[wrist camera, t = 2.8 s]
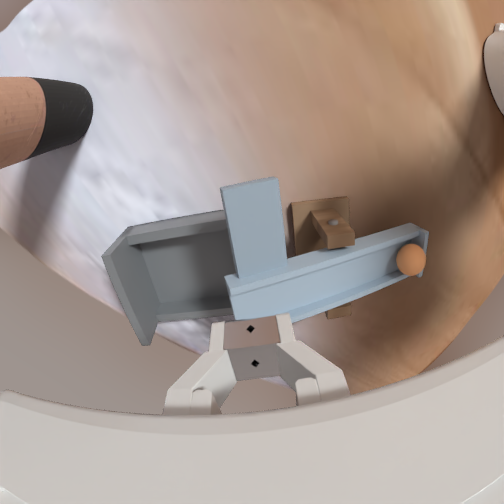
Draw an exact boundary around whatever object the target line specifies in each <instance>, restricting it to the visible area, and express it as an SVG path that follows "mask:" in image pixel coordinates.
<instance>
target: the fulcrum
mask: <svg viewBox="0 0 504 504" xmlns="http://www.w3.org/2000/svg"><path fill="white" fill-rule="evenodd" d="M291 208H292V218H293V229H294V240H295V252H296V256H299V255H302V254H306V253H309V252H313V251H316V250H320V249H323V248H327V249H333V248H340V247H347V246H353V245H355V232H354V230H353V229H352V228H351V227H350V215H349V198H348V197H347V196H346V197H336V198H327V199H319V200H310V201H302V202H294V203H291ZM351 309H352V305H351V303H350V302H348V303H345V304H343V305H340V306H338V307H335V308H332V309H330V310H327V311H325V313H326V316H327V319H333V318H338V317H343V316H349V315H351Z"/></svg>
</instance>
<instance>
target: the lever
mask: <svg viewBox="0 0 504 504" xmlns="http://www.w3.org/2000/svg"><path fill="white" fill-rule="evenodd" d="M220 191H221V197H222V202H223V207H224V213H225V218H226V223H227V228H228V233H229V239H230V244H231V249H232V254H233V259H234V264H235V269H236V273H234V274H231V275H227V276H224V277H225V282H226V286H227V290H228V294H229V299H230V303H231V307H232V311H233V315H234V320H241V319H251V318H258V317H265V316H271V315H276V314H282V313H287V312H288V313H289V314H290V318H291V322H292V323H294V322H296V321H299V320H302V319H305V318H308V317H311V316H313V315H316V314H319V313H322V312H324V311H327V310H330V309H332V308H335V307H338V306H340V305H343V304H345V303H348V302H350V301H353V300H355V299H358V298H360V297H363V296H365V295H368V294H370V293H373V292H375V291H377V290H380V289H382V288H384V287H387V286H389V285H391V284H394V283H396V282H398V281H400V280H403V279H405V278H407V277H409V276H408V275H405V274H403V273H402V272H401V271H400V270H399V268H398V266H397V262H396V257H397V253H398V251H399V250H400V249H401V247H403V246H404V245H406V244H416V245H418V246H420V247H421V248H422V249H423V251H424V253H425V256H426V251H427V244H428V236H429V231H427V230H425V229H423V228H421V227H419V226H417V225H415V224H413V223H407V224H404V225H401V226H397V227H394V228H391V229H388V230H384V231H381V232H378V233H374V234H371V235H368V236H364V237H361V238H357V239H355V245H353V246H347V247H340V248H333V249H327V248H323V249H320V250H316V251H313V252H309V253H306V254H302V255H299V256H295V257H292V258H288V259H287V254H286V244H285V235H284V225H283V216H282V207H281V199H280V190H279V182H278V178H275V177H268V178H263V179H258V180H253V181H248V182H243V183H238V184H234V185H229V186H225V187H220ZM423 269H424V268H423ZM422 275H423V270H422V271H421V272H420V273H419V274H417V275H416V276H417V277H421V276H422Z"/></svg>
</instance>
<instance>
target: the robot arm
mask: <svg viewBox="0 0 504 504" xmlns="http://www.w3.org/2000/svg"><path fill="white" fill-rule="evenodd" d="M484 62H485V69H486V74H487V78H488V82H489V85H490V88H491V91H492V94H493V96H494V99H495V101H496V103H497V105H498V107H499V109H500V111H501V112H502V114H503V115H504V24H503V23H497V24H496V26H495V31H494V33H493V34H491V35H490V36H489V37H488V38H487V40H486V43H485V48H484ZM275 376H280V377H281V378H282V379H283V380H284V381H285V382H286V383H287V384H288V385H289V386H290V387H291V388H292V389H293V390H294V391H295V392H296V405H297V406H295V407H288V408H281V409H274V410H266V411H257V412H247V413H234V414H222V413H221V411H220V407H221V406H222V404H223V403H224V401H225V400H226V398H227V397H228V395H229V393H230V392H231V391H232V389H233V387H234V386H235V384H236V382H237V381H241V380H249V379H256V378H266V377H275ZM0 504H504V336H502V337H500V338H498V339H496V340H495V341H493V342H491V343H489V344H487V345H485V346H483V347H481V348H479V349H477V350H475V351H473V352H471V353H469V354H467V355H465V356H463V357H460V358H458V359H456V360H454V361H452V362H449V363H447V364H444V365H442V366H439V367H437V368H434V369H432V370H429V371H427V372H424V373H421V374H419V375H416V376H413V377H410V378H407V379H404V380H401V381H398V382H395V383H392V384H389V385H386V386H382V387H379V388H376V389H372V390H368V391H365V392H361V393H357V394H353V395H350V392H349V389H348V386H347V383H346V380H345V377H344V374H343V371H342V370H341V369H340V368H338V367H337V366H335V365H334V364H333V363H331V362H330V361H328V360H327V359H325V358H324V357H323V356H321V355H320V354H318V353H317V352H315V351H314V350H313V349H311V348H310V347H308V346H307V345H306V344H304V343H303V342H301V341H300V340H297V341H296V340H295V335H294V331H293V327H292V322H291V318H290V314H289V313H288V312H287V313H282V314H276V315H271V316H265V317H258V318H251V319H241V320H231V321H222V322H213V323H212V325H211V332H210V341H209V349H208V352H204V353H203V354H202V355H201V356H200V357H199V358H198V359H197V360H196V361H195V362H194V363H193V365H191V366H190V368H189V369H188V370H187V371H186V372H185V373H184V374H183V375H182V376H181V377H180V378H179V379H178V380H177V381H176V382H175V383H174V384H173V385H172V386H171V387H170V388H169V389H168V390H167V395H166V400H165V404H164V409H163V415H153V414H136V413H123V412H115V411H106V410H98V409H91V408H84V407H79V406H73V405H67V404H62V403H58V402H53V401H49V400H44V399H40V398H36V397H32V396H28V395H25V394H21V393H18V392H15V391H12V390H3V391H2V392H0Z"/></svg>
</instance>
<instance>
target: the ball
mask: <svg viewBox="0 0 504 504" xmlns="http://www.w3.org/2000/svg"><path fill="white" fill-rule="evenodd" d="M396 262H397V266H398V268H399V270H400V271H401V272H402V273H403V274H405V275H408V276H414V275H417V274H419V273H420V272H421V271H422V270H423V268H424V266H425V263H426V256H425V253H424V251H423V249H422V248H421V247H420V246H418V245H416V244H406V245H404V246H403V247H401V249H400V250H399V251H398V253H397V257H396Z"/></svg>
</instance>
